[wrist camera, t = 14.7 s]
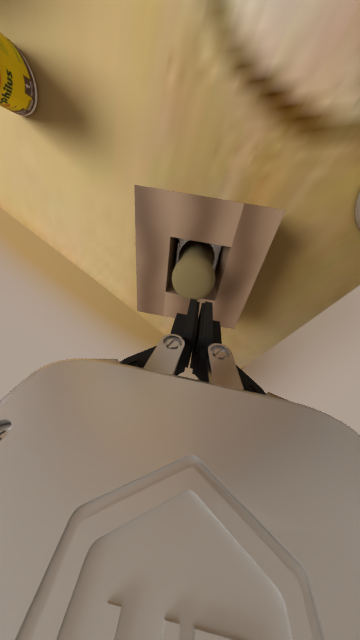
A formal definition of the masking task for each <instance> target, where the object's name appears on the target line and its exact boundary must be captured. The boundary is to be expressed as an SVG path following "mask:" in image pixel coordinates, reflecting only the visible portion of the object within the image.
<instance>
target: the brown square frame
mask: <svg viewBox="0 0 360 640" xmlns="http://www.w3.org/2000/svg"><path fill="white" fill-rule="evenodd" d="M285 211H286V210H282V209H276V208H270V207H264V206H258V205H252V204H246V203H240V202H234V201H228V200H222V199H216V198H210V197H204V196H198V195H192V194H186V193H180V192H174V191H168V190H162V189H156V188H150V187H144V186H138V185H135V227H136V271H137V311H140V312H145V313H151V314H156V315H162V316H167V317H172V318H176V315H177V313H180V314H185V315H187V312H188V307H189V303H190V300H188V299H185V298H183V297H181V296H180V295H179V294H178V293H177V292H176V291H175V289H174V287H173V283H172V272H173V270H174V268H175V259H176V250H177V242H178V238H181V239H187V240H192V241H198V242H204V243H210V244H215V245H221V246H222V248H221V252H220V256H219V259H218V263H217V267H216V271H215V283H214V287H213V289H212V290H211V291H210V293H209V294H208V295H207V296H205V297H204V298H201V299H199V300H197V302H200V306H199V313H200V309H201V305H202V303H205V301H207V302H212V303H213V320H215V321H220V326H221V327H227V328H232V329H235V326H236V324H237V322H238V319H239V317H240V315H241V313H242V310H243V308H244V306H245V303H246V301H247V299H248V296H249V294H250V292H251V289H252V287H253V285H254V282H255V280H256V278H257V275H258V273H259V271H260V268H261V266H262V264H263V262H264V259H265V257H266V255H267V252H268V250H269V248H270V245H271V243H272V241H273V238H274V236H275V234H276V231H277V229H278V227H279V224H280V222H281V220H282V218H283V215H284V213H285ZM198 317H199V315H198Z"/></svg>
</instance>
